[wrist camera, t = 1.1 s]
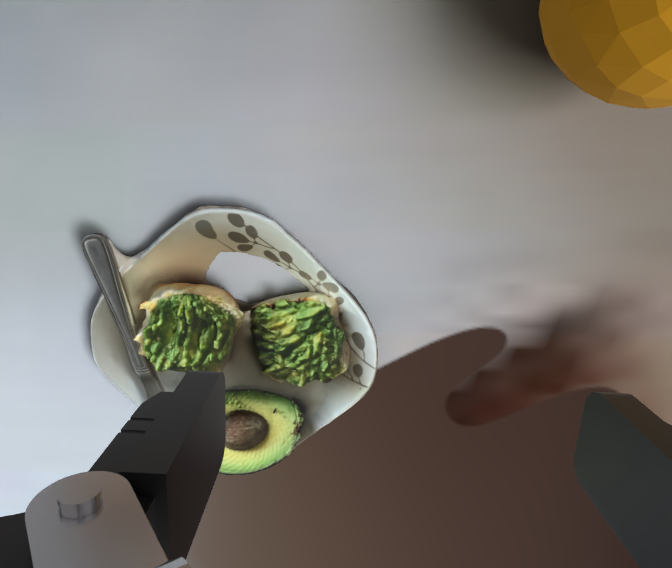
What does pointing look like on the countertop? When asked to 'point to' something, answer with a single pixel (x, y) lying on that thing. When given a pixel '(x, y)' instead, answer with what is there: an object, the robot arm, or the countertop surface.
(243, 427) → the avocado toast plate
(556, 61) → the apple
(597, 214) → the countertop surface
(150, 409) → the robot arm
